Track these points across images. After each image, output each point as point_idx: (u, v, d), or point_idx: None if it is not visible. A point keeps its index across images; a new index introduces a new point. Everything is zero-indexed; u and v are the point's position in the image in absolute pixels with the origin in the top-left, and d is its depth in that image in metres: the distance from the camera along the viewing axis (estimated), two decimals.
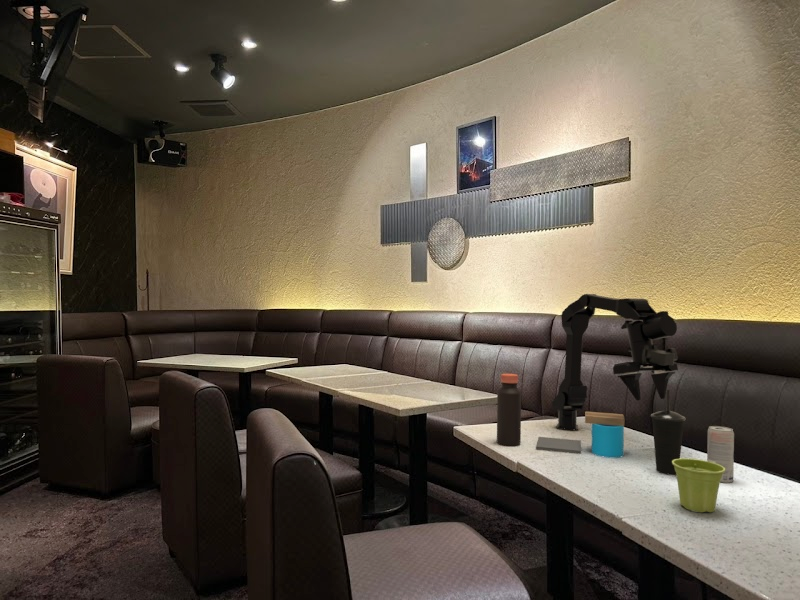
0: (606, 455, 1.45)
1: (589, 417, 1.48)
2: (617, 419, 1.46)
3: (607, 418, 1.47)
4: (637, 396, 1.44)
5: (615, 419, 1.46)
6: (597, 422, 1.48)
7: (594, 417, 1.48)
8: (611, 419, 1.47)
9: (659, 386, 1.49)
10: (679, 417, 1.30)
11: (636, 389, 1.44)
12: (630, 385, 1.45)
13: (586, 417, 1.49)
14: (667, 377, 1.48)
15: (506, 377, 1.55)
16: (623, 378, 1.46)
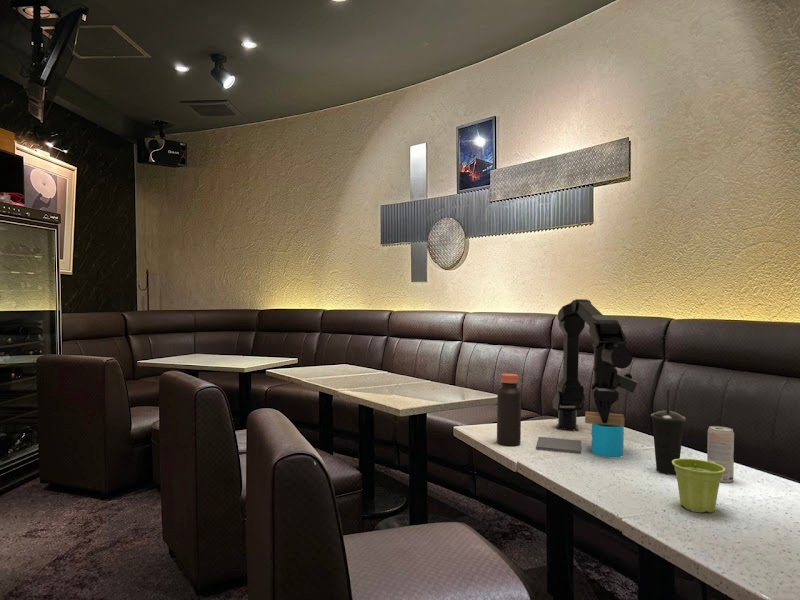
0: (606, 455, 1.45)
1: (589, 417, 1.48)
2: (617, 419, 1.46)
3: None
4: (605, 419, 1.46)
5: (615, 419, 1.46)
6: (597, 422, 1.48)
7: (594, 417, 1.48)
8: (611, 419, 1.46)
9: None
10: (679, 417, 1.30)
11: (608, 413, 1.46)
12: (601, 408, 1.46)
13: (586, 417, 1.49)
14: None
15: (506, 377, 1.55)
16: (597, 401, 1.46)
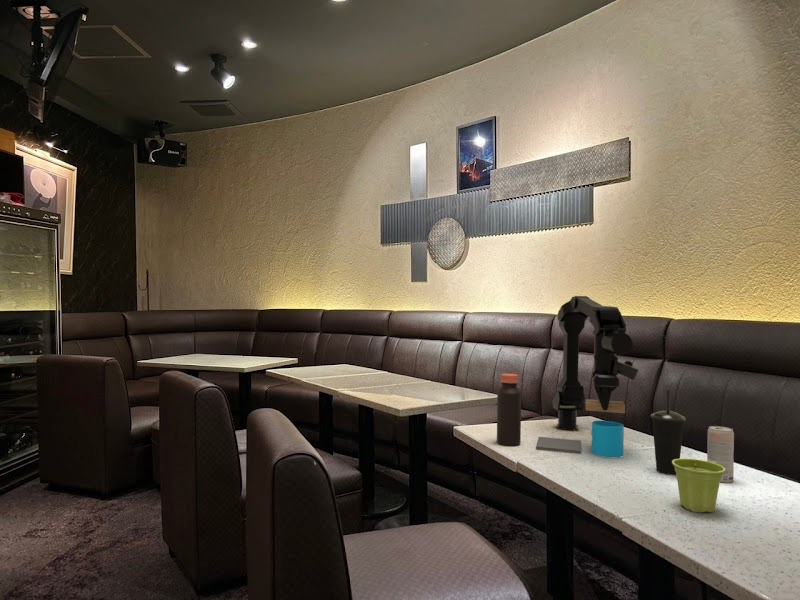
0: (606, 455, 1.45)
1: (590, 404, 1.48)
2: (618, 406, 1.46)
3: (608, 405, 1.47)
4: (606, 406, 1.46)
5: (616, 406, 1.46)
6: (598, 409, 1.48)
7: (595, 404, 1.48)
8: (612, 406, 1.46)
9: None
10: (679, 417, 1.30)
11: (608, 400, 1.46)
12: (601, 395, 1.46)
13: (587, 404, 1.49)
14: None
15: (506, 377, 1.55)
16: (597, 388, 1.46)
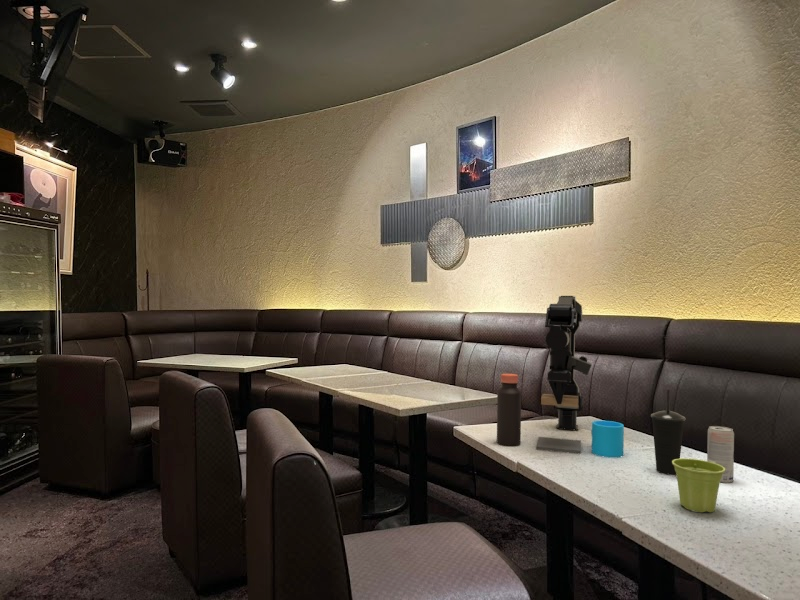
0: (606, 455, 1.45)
1: (545, 398, 1.53)
2: (571, 400, 1.51)
3: (562, 399, 1.52)
4: (560, 400, 1.51)
5: (569, 400, 1.51)
6: (552, 403, 1.52)
7: (549, 398, 1.53)
8: (565, 400, 1.51)
9: None
10: (679, 417, 1.30)
11: (562, 394, 1.50)
12: (556, 390, 1.51)
13: (542, 398, 1.53)
14: None
15: (506, 377, 1.55)
16: (552, 382, 1.50)
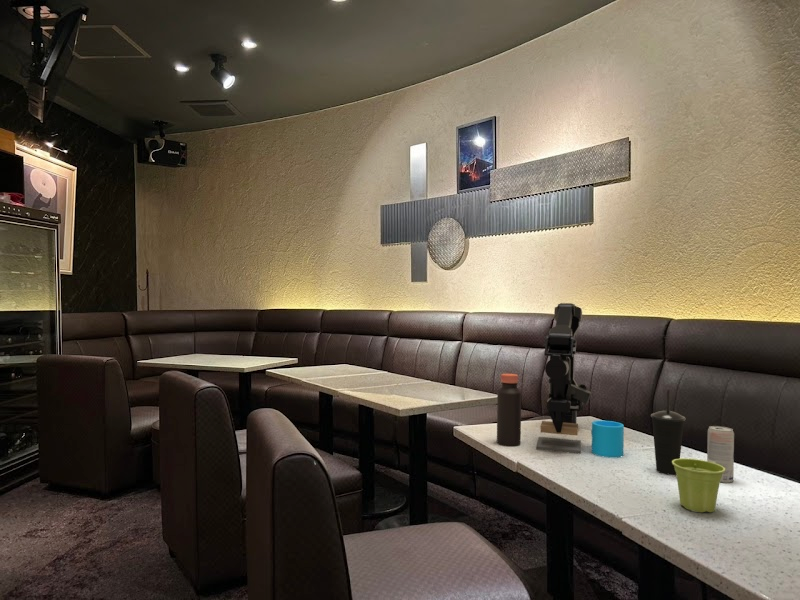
0: (606, 455, 1.45)
1: (544, 426, 1.53)
2: (571, 429, 1.51)
3: None
4: (559, 429, 1.51)
5: (569, 429, 1.51)
6: (552, 431, 1.52)
7: (549, 427, 1.53)
8: (565, 429, 1.51)
9: None
10: (679, 417, 1.30)
11: (561, 423, 1.50)
12: (555, 418, 1.51)
13: (541, 426, 1.53)
14: None
15: (506, 377, 1.55)
16: (551, 411, 1.50)
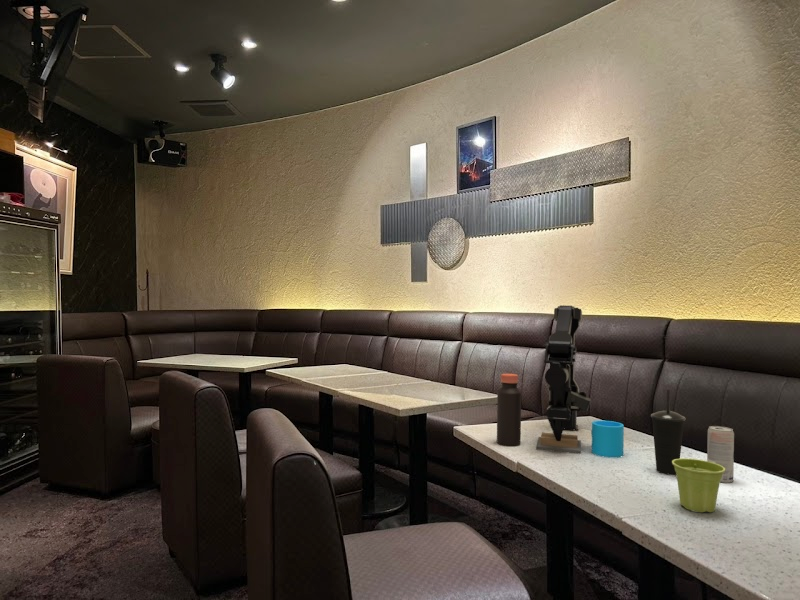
0: (606, 455, 1.45)
1: (544, 439, 1.53)
2: (570, 441, 1.51)
3: (561, 440, 1.52)
4: (559, 437, 1.50)
5: (569, 441, 1.51)
6: (552, 444, 1.52)
7: (549, 439, 1.53)
8: (565, 441, 1.51)
9: None
10: (679, 417, 1.30)
11: (561, 431, 1.49)
12: (555, 427, 1.50)
13: (541, 439, 1.53)
14: None
15: (506, 377, 1.55)
16: (551, 420, 1.49)
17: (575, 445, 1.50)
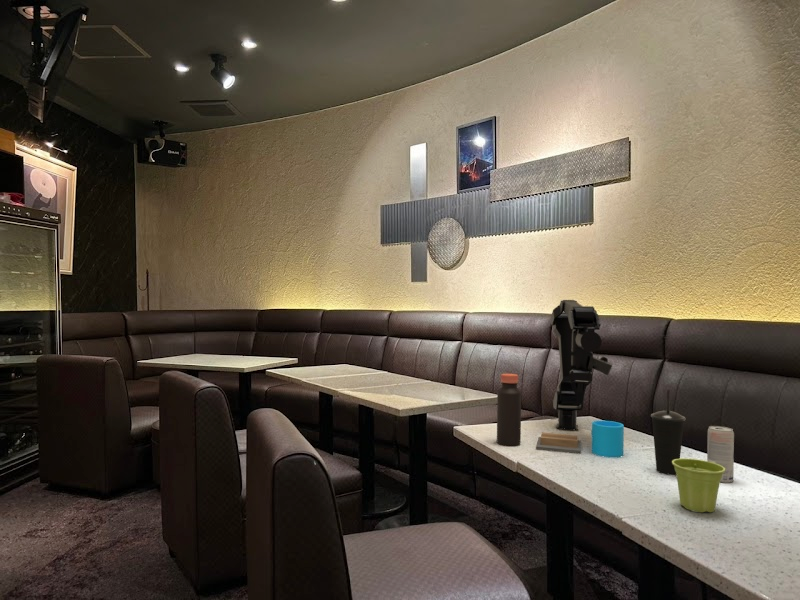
0: (606, 455, 1.45)
1: (544, 439, 1.53)
2: (570, 441, 1.51)
3: (561, 440, 1.52)
4: (581, 400, 1.56)
5: (569, 441, 1.51)
6: (552, 444, 1.52)
7: (549, 439, 1.53)
8: (565, 441, 1.51)
9: None
10: (679, 417, 1.30)
11: (583, 394, 1.55)
12: (577, 390, 1.55)
13: (541, 439, 1.53)
14: None
15: (506, 377, 1.55)
16: (573, 383, 1.55)
17: (575, 445, 1.50)
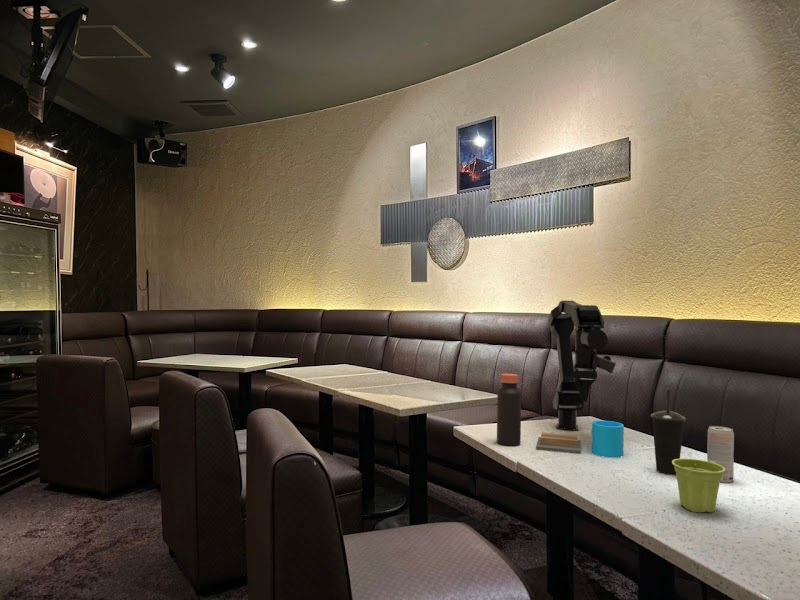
0: (606, 455, 1.45)
1: (544, 439, 1.53)
2: (570, 441, 1.51)
3: (561, 440, 1.52)
4: (586, 398, 1.56)
5: (569, 441, 1.51)
6: (552, 444, 1.52)
7: (549, 439, 1.53)
8: (565, 441, 1.51)
9: None
10: (679, 417, 1.30)
11: (588, 392, 1.56)
12: (581, 388, 1.56)
13: (541, 439, 1.53)
14: None
15: (506, 377, 1.55)
16: (578, 381, 1.56)
17: (575, 445, 1.50)
